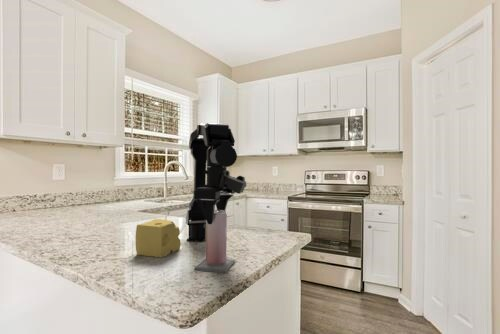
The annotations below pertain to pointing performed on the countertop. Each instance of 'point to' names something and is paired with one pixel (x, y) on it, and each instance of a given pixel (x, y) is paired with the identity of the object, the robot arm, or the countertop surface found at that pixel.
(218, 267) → the slate coaster
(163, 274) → the countertop surface
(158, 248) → the cheese
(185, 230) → the countertop surface
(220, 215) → the beverage can
